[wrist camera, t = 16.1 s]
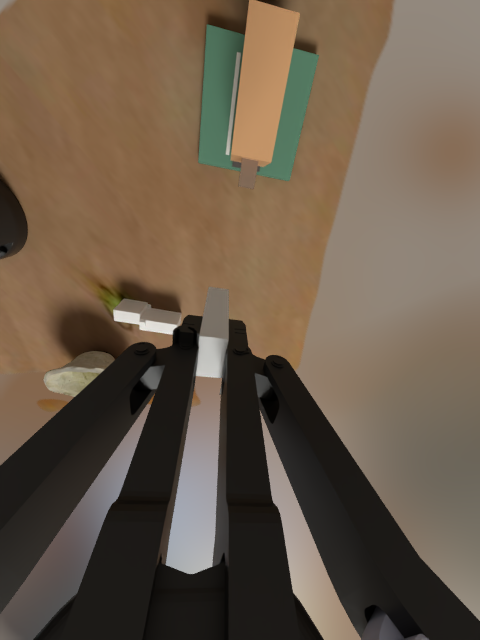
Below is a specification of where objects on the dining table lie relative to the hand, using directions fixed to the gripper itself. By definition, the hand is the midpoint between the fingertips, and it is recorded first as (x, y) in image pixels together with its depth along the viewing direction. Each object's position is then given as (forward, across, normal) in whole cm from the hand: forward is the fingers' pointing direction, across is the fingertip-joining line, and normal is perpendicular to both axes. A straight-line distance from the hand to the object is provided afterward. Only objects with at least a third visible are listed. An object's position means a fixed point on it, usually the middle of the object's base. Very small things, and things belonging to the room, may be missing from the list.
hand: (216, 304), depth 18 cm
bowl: (+27, -24, -32) cm, 48 cm away
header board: (+26, +2, +17) cm, 32 cm away
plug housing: (+23, +2, +16) cm, 28 cm away
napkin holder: (+27, -13, -16) cm, 34 cm away
